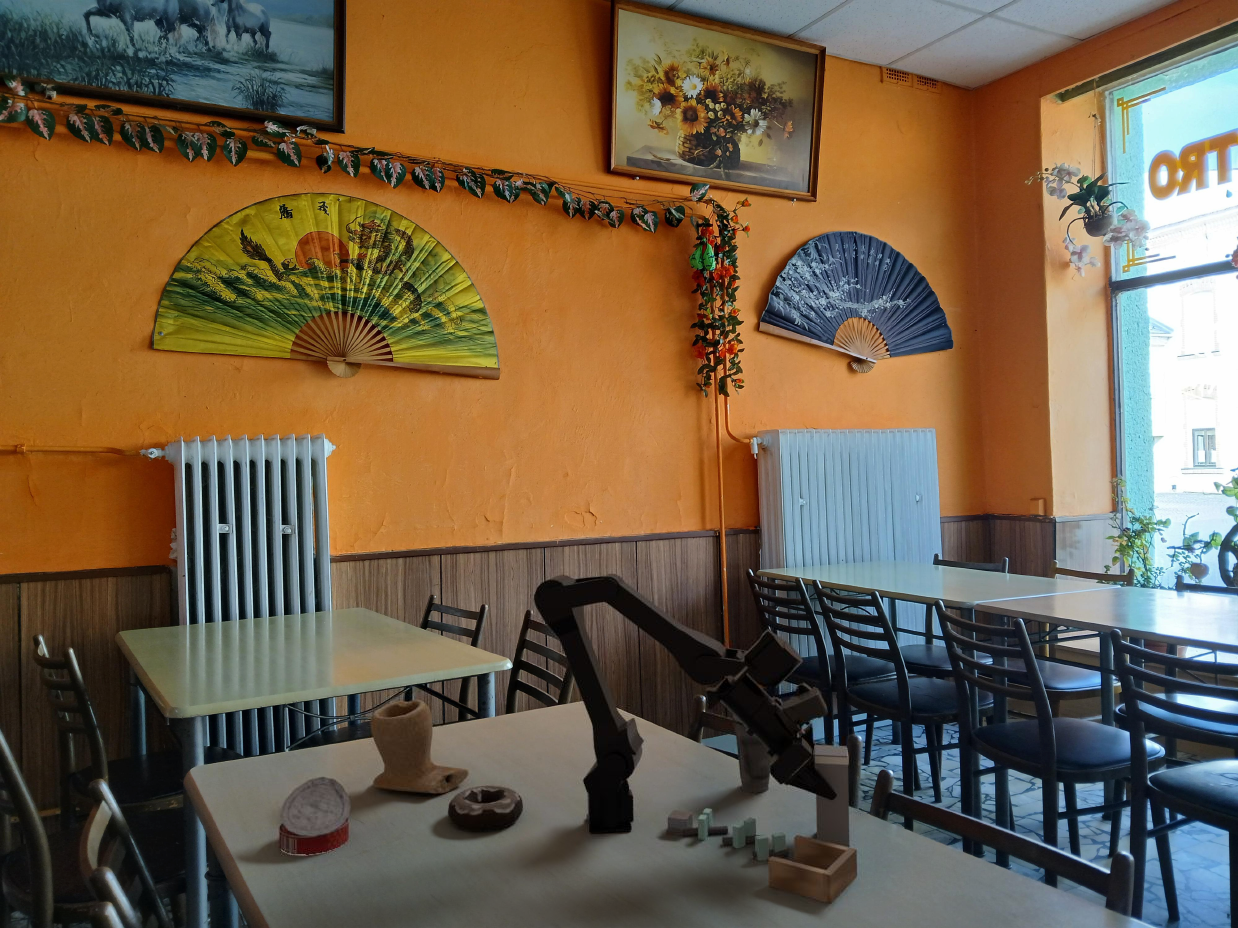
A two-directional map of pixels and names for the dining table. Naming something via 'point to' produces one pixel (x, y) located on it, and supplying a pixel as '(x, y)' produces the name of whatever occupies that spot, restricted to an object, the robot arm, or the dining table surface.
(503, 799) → the donut
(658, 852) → the dining table surface
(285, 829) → the canned food
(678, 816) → the brown grey short block
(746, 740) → the beverage cup
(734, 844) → the cable clips
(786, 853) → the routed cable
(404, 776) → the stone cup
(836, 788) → the tall grey box
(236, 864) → the dining table surface
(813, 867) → the end holder
